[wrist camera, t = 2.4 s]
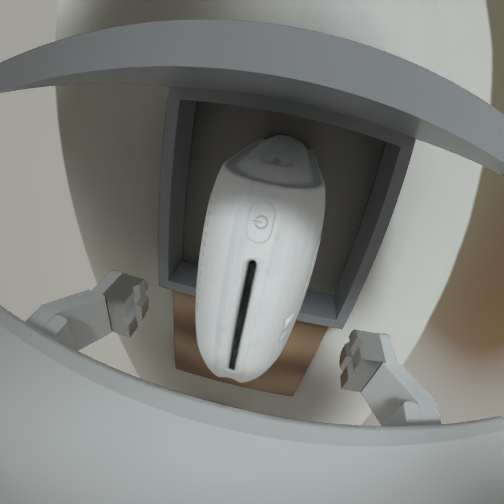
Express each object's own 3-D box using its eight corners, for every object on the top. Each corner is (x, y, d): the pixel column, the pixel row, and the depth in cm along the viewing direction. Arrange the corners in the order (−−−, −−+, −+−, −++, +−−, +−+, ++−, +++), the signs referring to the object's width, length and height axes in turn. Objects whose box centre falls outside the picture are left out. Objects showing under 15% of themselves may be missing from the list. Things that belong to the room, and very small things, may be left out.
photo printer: (256, 127, 17) (184, 160, 7) (320, 141, 17) (353, 197, 7) (233, 258, 23) (179, 388, 12) (286, 271, 22) (268, 411, 12)
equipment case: (189, 77, 16) (-10, 67, 3) (401, 122, 15) (583, 189, 2) (173, 266, 24) (78, 410, 11) (339, 305, 23) (349, 479, 10)
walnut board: (176, 278, 25) (173, 282, 24) (331, 314, 24) (331, 319, 23) (177, 364, 31) (175, 368, 31) (292, 392, 30) (292, 396, 30)
